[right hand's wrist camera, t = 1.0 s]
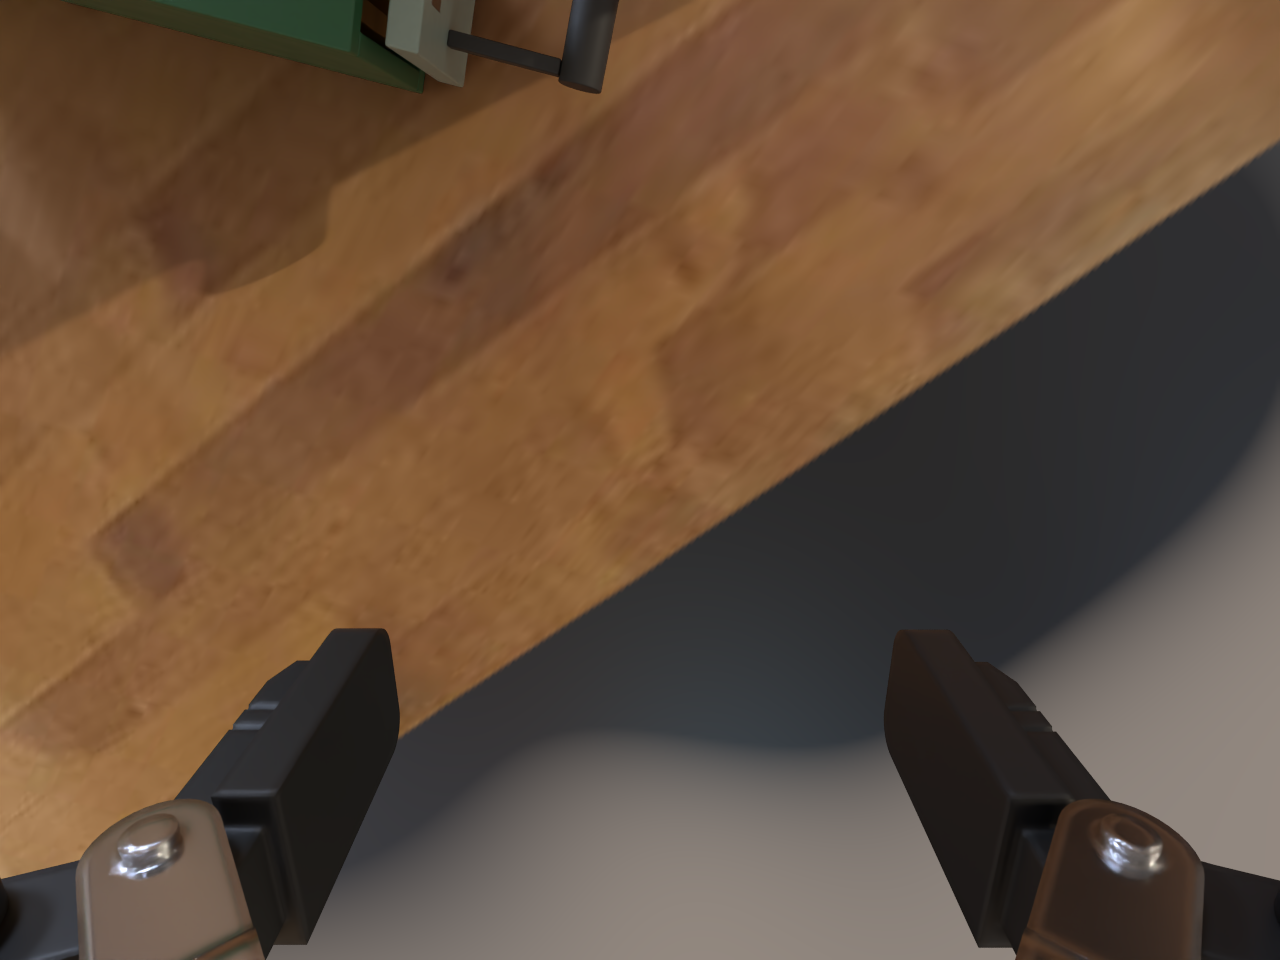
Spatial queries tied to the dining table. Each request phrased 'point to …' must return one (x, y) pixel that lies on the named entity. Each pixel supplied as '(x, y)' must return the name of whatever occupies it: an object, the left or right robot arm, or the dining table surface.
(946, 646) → the right robot arm
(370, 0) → the drawer
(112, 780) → the dining table surface
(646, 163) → the dining table surface
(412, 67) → the cabinet
